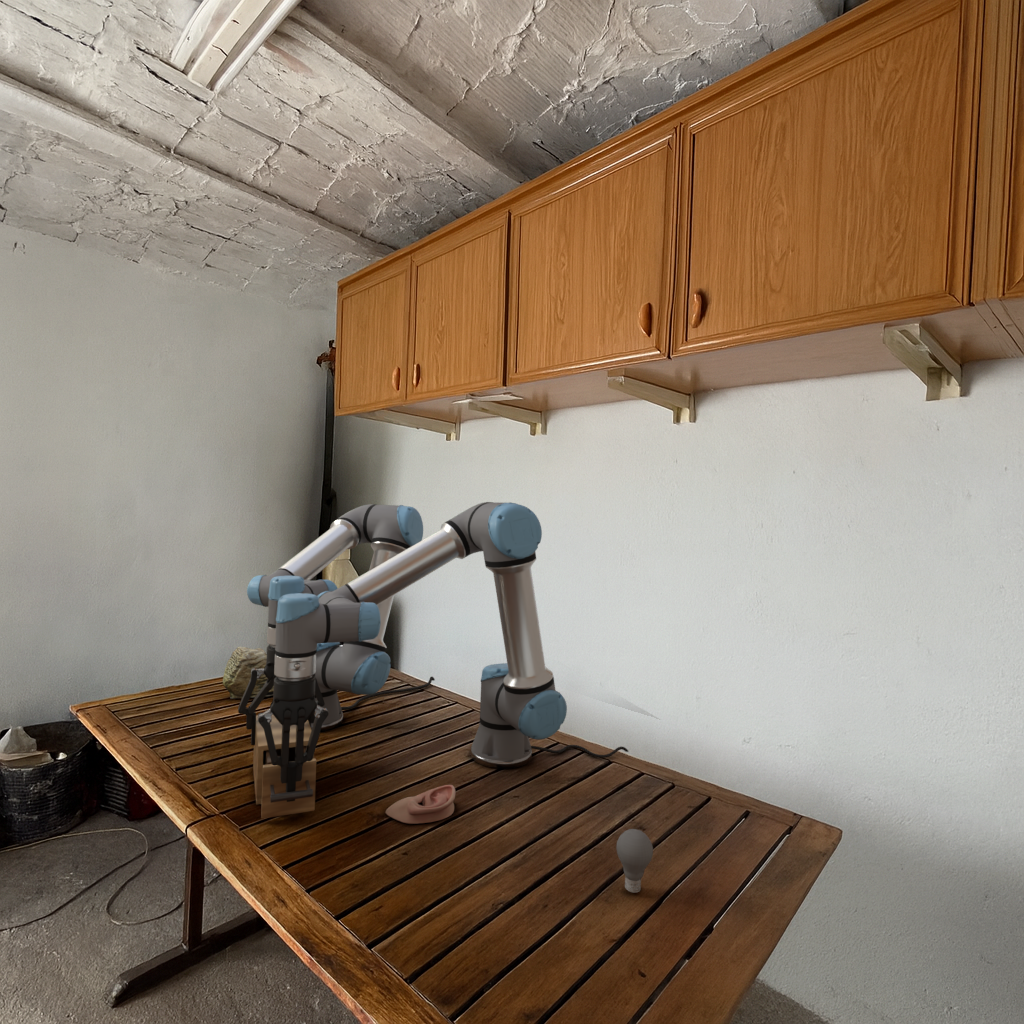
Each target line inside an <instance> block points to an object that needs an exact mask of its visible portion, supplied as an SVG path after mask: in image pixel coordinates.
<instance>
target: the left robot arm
mask: <svg viewBox="0 0 1024 1024" xmlns="http://www.w3.org/2000/svg"><path fill="white" fill-rule="evenodd" d="M329 526H330V527H329V529H328V530H326V531H325V532H324V533H322V534H321V535H320V536H318V537H317V538H316V539H314V540H313V541H312V542H311V543H309V544H308V545H307V546H306V547H304V548H303V549H302V550H301V551H299V552H298V553H297V554H295V555H294V556H293V557H291V558H290V559H288V561H286V562H285V563H284V564H282V565H281V566H280V567H278V568H277V569H276V570H274V571H273V572H272V573H270V574H269V575H267V574H262V575H260V574H259V575H255V576H254V577H252V578H251V579H250V581H249V582H248V585H247V588H246V594H247V598H248V600H249V601H250V603H252V604H254V605H256V606H262V607H265V608H267V610H268V611H267V613H268V614H267V632H266V633H267V636H266V644H268V645H267V646H266V654H267V657H266V666H265V668H263V669H256V668H252V669H251V678H250V681H249V683H248V685H247V688H246V690H245V693H244V695H243V697H242V698H241V700H240V702H239V704H238V707H237V712H238V714H239V715H245V716H246V718H245V722H246V723H245V724H246V725H245V727H246V731H247V730H251V732H250V736H251V737H250V745H251V746H254V745H255V732H256V716H257V712H256V710H258V708H259V706H260V705H261V703H262V702H263V700H264V699H265V698H266V697H267V696H266V695H267V693H268V692H269V691H270V690H271V689H272V687H273V686H274V679H275V678H276V677H277V676H276V675H275V674H274V665H275V644H276V616H277V607H278V600H279V599H280V598H281V597H282V596H283V595H287V594H294V593H302V594H305V593H307V594H314V595H316V596H318V595H319V594H320V593H322V592H325V591H334V590H336V589H338V588H339V587H338V586H337V584H336V583H334V581H332V580H331V579H320V578H319V579H317V580H312V579H314V577H315V576H317V575H318V574H319V573H321V572H322V571H323V570H324V569H325V568H326V567H327V566H329V565H331V563H333V562H334V561H335V560H336V559H337V558H338V557H340V556H341V555H342V554H343V553H344V552H346V551H347V550H352V549H354V548H356V547H357V546H358V545H361V544H370V547H371V549H372V550H373V554H372V559H371V561H370V566H369V569H368V571H370V570H371V569H373V568H375V567H377V566H378V565H380V564H382V563H384V562H385V561H387V560H389V559H391V558H392V557H394V556H396V555H398V554H399V553H401V552H403V551H405V550H406V549H408V548H410V547H412V546H413V545H415V544H417V543H419V542H420V541H422V540H423V537H424V522H423V519H422V515H421V513H420V512H419V511H418V509H416V508H415V507H414V506H408V505H403V504H400V505H397V504H376V503H369V504H363V505H360V506H357V507H355V508H353V509H351V510H349V511H347V512H345V513H344V514H342V515H341V516H339V517H338V518H336V519H335V520H334V521H332V523H331V524H330V525H329ZM394 598H395V595H393V596H391V597H390V598H388V599H386V600H385V601H383V602H381V603H380V604H378V605H377V606H378V608H379V611H380V617H381V625H380V631H379V634H378V636H377V637H376V638H374V639H370V640H364V641H361V642H359V641H350V642H342V646H341V645H340V644H341V642H333V643H318V644H317V653H316V673H315V674H314V676H315V678H316V680H315V699H316V701H317V705H319V706H321V707H326V708H327V711H328V716H327V718H326V719H325V721H324V722H323V724H322V727H321V731H320V732H325V731H329V730H332V729H335V728H337V727H339V726H340V725H342V723H343V722H344V714H343V711H351V710H353V709H354V708H356V707H357V706H358V705H359V703H361V702H363V701H366V700H367V699H371V698H374V697H375V698H376V697H380V696H383V695H390V694H397V693H406V692H412V691H417V690H421V689H424V688H427V687H429V686H430V685H431V684H432V682H434V681H436V679H435V678H434V676H430V677H429V679H428V681H427V683H425V684H422V685H417V686H413V687H412V686H411V687H406V688H400V689H391V690H384V691H380V690H381V689H382V688H383V687H384V685H385V684H386V682H387V680H388V678H389V676H390V672H391V665H392V663H391V656H389V654H388V653H386V652H387V645H386V643H385V642H384V637H385V633H386V629H387V626H388V621H389V617H390V614H391V610H392V606H393V602H394ZM262 674H265V676H266V677H267V678H268V680H267V681H266V683H265V685H264V686H263V687H262V689H261V690H260V692H259V693H258V694H257V696H256V697H254V698H253V700H252V701H251V703H250V704H249V705H248V703H249V701H250V699H251V698H250V696H251V694H252V692H253V689H254V687H255V685H256V681H257V679H259V678H260V677H261V675H262ZM338 691H340V692H346V693H351V694H354V695H357V696H359V695H363V696H362V697H360V698H359V699H357V700H356V701H355V702H354V703H353V704H352V705H349V706H341V702H340V699H339V695H338ZM314 714H315V711H314V712H313V713H312V715H311V716H310V717H309V719H308V722H309V725H310V728H311V730H312V727H313V723H314V720H315V715H314Z"/></svg>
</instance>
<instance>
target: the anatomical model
mask: <svg viewBox="0 0 1024 1024" xmlns="http://www.w3.org/2000/svg"><path fill="white" fill-rule="evenodd" d="M455 798H456V787H455V786H454V785H453V784H445V785H441V786H438V787H434V788H432V789H428V790H426V791H423V792H422V793H419V794H416V795H414V796H408V797H403V798H402V799H399V800H397V801H396V802H394V803H392V804H391V805H390V806H388V808H386V810H385V814H386V815H387V816H388V817H389V818H392V819H394V820H396V821H398V822H401V823H404V824H409V825H413V824H414V825H415V824H425V823H433V822H437V821H442V820H445V819H446V818H449V817H450V816H452V814H454V812H455V804H454V801H455Z"/></svg>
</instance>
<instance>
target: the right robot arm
mask: <svg viewBox="0 0 1024 1024" xmlns="http://www.w3.org/2000/svg"><path fill="white" fill-rule="evenodd" d="M542 536H543V531H542V525H541V522H540V520H539V518H538V516H537V514H536V513H535V512H534V511H532V510H531V509H530V508H528V507H527V506H525V505H522V504H520V503H519V504H518V503H516V502H492V501H485V502H480V503H477V504H475V505H473V506H470V507H468V508H467V509H465V510H463V511H462V512H460V513H458V514H457V515H455V516H454V517H452V518H450V519H449V520H446V521H444V522H443V523H441V525H440V529H439V530H438V531H436V532H434V533H432V534H430V535H429V536H427V537H426V538H424V539H422V541H420V542H419V543H417V544H415V545H413V546H412V547H410V548H408V549H406V550H405V551H403V552H401V553H399V554H398V555H396V556H394V557H392V558H391V559H389V560H387V561H385V562H384V563H382V564H380V565H378V566H377V567H375V568H373V569H371V570H370V571H369V570H367V572H364V573H363V574H361V575H359V576H357V577H355V578H354V579H352V580H351V581H349V582H347V583H346V584H344V585H341V586H340V587H337V588H338V589H336V590H334V591H325V592H322V593H320V594H319V595H318V596H316V595H314V594H307V593H305V594H302V593H294V594H287V595H283V596H282V597H281V598H280V599H279V600H278V607H277V616H276V644H275V665H274V674H275V675H276V676H277V677H276V678H275V679H274V692H273V695H272V701H271V703H270V705H269V709H267V710H266V711H264V712H259V713H258V714H257V715H258V722H259V723H260V725H261V726H262V727H263V729H264V732H265V736H266V741H267V745H268V749H269V754H270V758H271V763H272V765H279V766H280V767H281V774H280V779H281V783H282V784H283V783H286V792H293V791H295V790H296V782H297V781H301V779H302V766H303V764H304V763H305V762H307V761H311V760H312V759H313V755H314V756H315V751H316V748H317V744H318V742H319V738H320V734H321V732H322V731H321V727H322V724H323V722H324V721H325V719H326V718H327V716H328V711H327V708H326V707H321V706H319V705H317V701H316V699H315V680H316V678H315V676H314V674H315V673H316V653H317V644H318V643H333V642H340V643H344V642H350V641H359V642H361V641H364V640H370V639H374V638H376V637H377V636H378V634H379V631H380V625H381V617H380V611H379V608H378V606H377V605H378V604H380V603H381V602H383V601H385V600H386V599H388V598H390V597H391V596H393V595H394V596H395V595H396V594H398V593H401V592H402V591H403V590H405V589H407V588H408V587H410V586H411V585H413V584H415V583H417V582H418V581H420V580H421V579H424V578H425V577H426V576H429V575H430V574H432V573H433V572H435V571H437V570H438V569H440V568H442V567H443V566H445V565H448V564H449V563H450V562H452V561H454V560H456V559H459V560H463V559H465V558H466V557H469V556H470V555H473V554H476V553H481V552H482V553H483V559H484V566H485V568H486V569H488V570H489V571H490V572H492V573H493V579H494V580H493V581H494V586H495V592H496V600H497V607H498V613H499V619H500V625H501V632H502V638H503V639H502V640H503V645H504V650H505V651H504V652H505V658H506V662H505V663H494V664H489V665H485V666H484V667H483V669H482V670H481V678H480V701H479V702H480V703H479V725H478V728H477V729H476V730H477V731H476V733H475V735H474V738H473V740H472V741H473V742H472V744H471V745H470V746H471V747H470V750H471V751H470V757H471V759H472V760H473V761H474V762H476V763H477V764H479V765H481V766H484V767H488V768H493V769H514V768H515V769H516V768H519V767H523V766H525V765H527V764H528V763H530V762H531V761H532V758H533V757H532V755H533V750H537V751H543V752H547V753H551V754H561V753H563V752H565V751H567V750H568V749H579V750H582V751H584V753H586V754H588V755H590V756H591V757H595V758H599V759H606V758H607V759H608V758H610V757H612V756H614V755H615V754H616V753H617V752H619V751H620V750H622V751H624V752H626V753H629V749H627V748H626V747H625V746H618V747H616V748H614V750H612V751H611V752H609V753H607V754H598V753H595V752H593V751H591V750H589V749H587V748H586V747H584V746H581V745H577V744H568V745H565V746H564V747H562V748H561V749H559V750H554V749H549V748H546V747H541V746H535V745H531V741H530V738H531V739H533V740H536V741H537V740H538V741H539V740H540V741H541V740H545V739H548V738H551V737H552V736H553V735H555V734H556V733H557V732H558V731H559V730H560V728H561V725H563V724H564V722H565V720H566V718H567V713H568V712H567V711H568V706H567V701H566V699H565V697H564V696H563V695H562V693H561V692H559V691H558V690H556V683H555V678H554V672H553V671H552V670H551V669H550V668H548V667H546V662H545V656H544V648H543V641H542V634H541V628H540V621H539V613H538V607H537V599H536V594H535V586H534V581H533V580H534V579H533V572H532V566H533V565H534V563H535V562H536V561H537V554H536V551H537V550H538V548H539V544H541V541H542ZM314 711H315V714H314V715H315V720H314V723H313V727H312V730H311V734H310V737H309V741H308V744H307V748H306V751H305V753H303V744H304V725H305V722H306V721H307V720H308V719H309V717H310V716H311V715H312V713H313V712H314ZM272 715H274V716H275V718H276V719H277V720H278V721H279V723H280V724H281V725H282V743H281V756H277V751H276V747H275V743H274V738H273V734H272V729H271V725H270V722H271V721H272V717H271V716H272ZM292 725H296V747H295V761H293V762H289V738H290V726H292ZM290 801H295V799H292V800H287V802H290Z"/></svg>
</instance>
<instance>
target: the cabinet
mask: <svg viewBox="0 0 1024 1024" xmlns="http://www.w3.org/2000/svg"><path fill="white" fill-rule="evenodd" d="M271 717H272V721H271V722H270V725H271V729H272V734H273V738H274V743H275V747H276V749H281V743H282V725H281V724H280V723H279V721H278V720H277V719H276V718H275V716H274V715H272V716H271ZM310 734H311V728H310V725H309V722H308V720H307V721H306V722H305V725H304V744H303V746H307V744H308V741H309V737H310ZM290 747H296V725H292V726H290V738H289V748H290ZM265 750H269V749H268V745H267V741H266V736H265V732H264V729H263V727H262V726H261V725H260V723H259V722H258V714H256V732H255V745H253V760H252V764H253V765H252V769H253V782H254V794H255V805H261V804H262V775H263V751H265ZM313 759H315V754H314V755H313Z"/></svg>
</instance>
